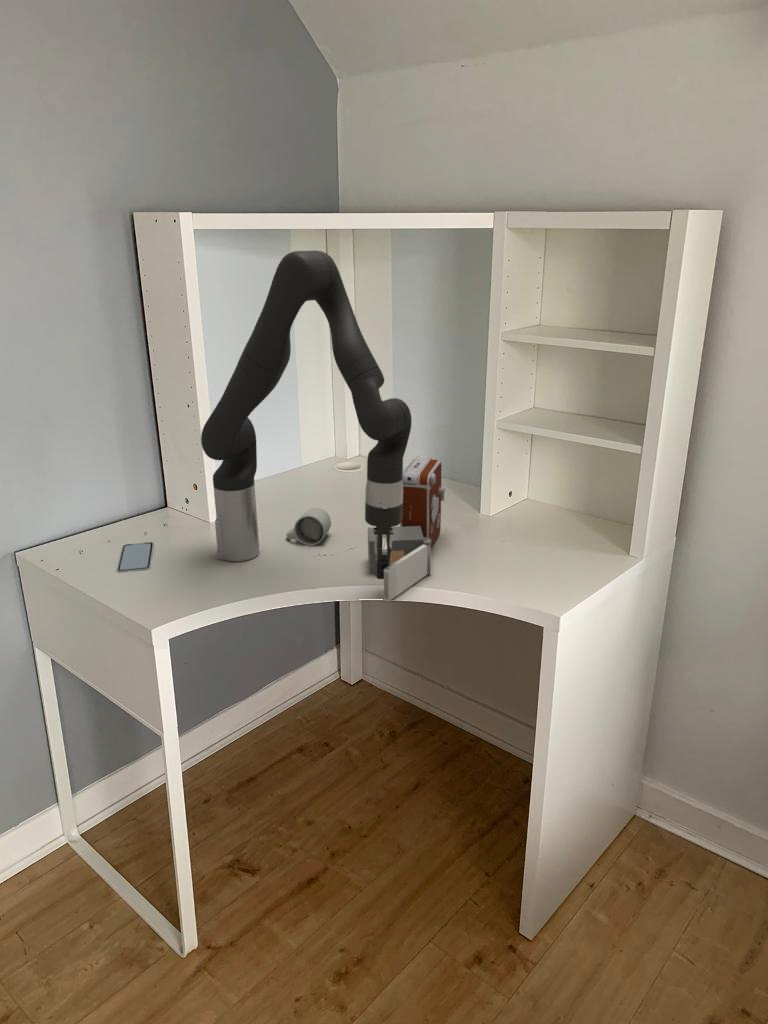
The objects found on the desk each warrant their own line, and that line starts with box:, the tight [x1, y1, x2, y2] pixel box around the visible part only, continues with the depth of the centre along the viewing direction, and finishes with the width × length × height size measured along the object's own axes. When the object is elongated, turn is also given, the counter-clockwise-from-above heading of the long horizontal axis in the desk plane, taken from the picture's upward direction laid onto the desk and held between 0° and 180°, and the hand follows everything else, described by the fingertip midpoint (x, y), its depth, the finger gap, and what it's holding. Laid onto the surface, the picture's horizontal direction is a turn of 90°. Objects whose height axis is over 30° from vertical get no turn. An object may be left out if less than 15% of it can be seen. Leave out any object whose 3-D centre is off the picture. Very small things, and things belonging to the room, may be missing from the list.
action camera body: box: [367, 526, 431, 576], centre depth 177 cm, size 14×10×9 cm
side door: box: [383, 544, 432, 602], centre depth 167 cm, size 17×2×7 cm, turn 146°
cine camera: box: [399, 455, 446, 550], centre depth 190 cm, size 9×19×20 cm, turn 164°
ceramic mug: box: [286, 507, 332, 547], centre depth 193 cm, size 11×8×8 cm
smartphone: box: [116, 541, 155, 573], centre depth 185 cm, size 7×1×15 cm
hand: (382, 577), depth 164 cm, fingers closed
